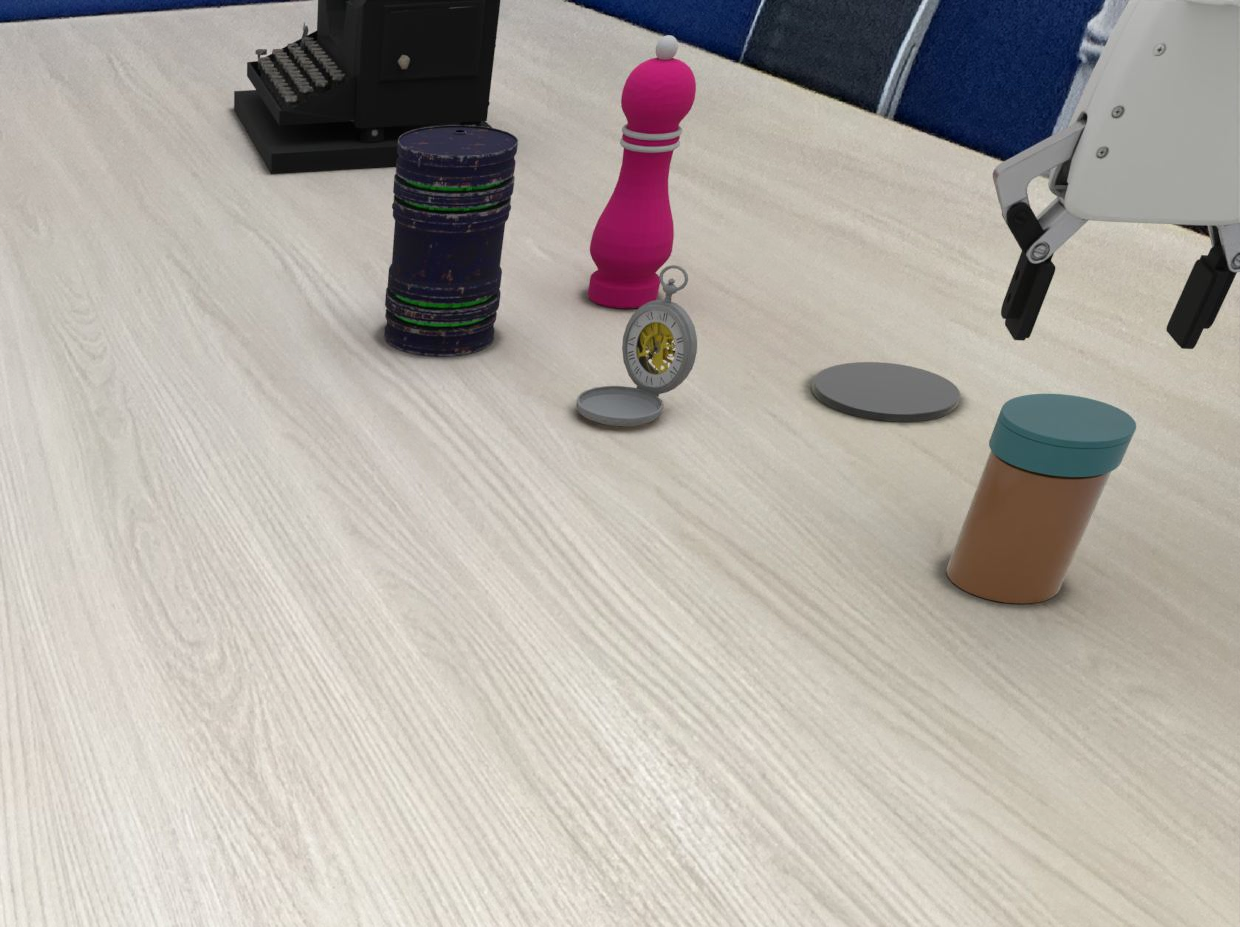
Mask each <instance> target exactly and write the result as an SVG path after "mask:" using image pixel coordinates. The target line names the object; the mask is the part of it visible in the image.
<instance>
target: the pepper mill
mask: <svg viewBox="0 0 1240 927" xmlns="http://www.w3.org/2000/svg"><path fill="white" fill-rule="evenodd" d="M678 49H679V43H678V39H677V38H676V37H675V36H674V35H669V34H667V35H664V36H662V37H661V38H659V40H658V41H657V42H656V46H655V56H656V57H653V58H649V59H647V60H645V61H643V62H641V63H639V64H637V66H635V68H633V69H632V71H631V72H630V73H629V75H628V76H627V78H626V80H625V81H624V82H625V83H624V86H623V88H622V92H621V98H620V103H621V104H620V107H621V110H622V113H623V115H624V116H625V118H626V121H627V123H626V124H624V125H623V126H622V128H621V133H622V135H621V138H620V140H619V145H620V146H621V148H623V152H622V161H621V167H620V171H619V175H618V179H617V182H616V184H615V187H614V189H613V192H612V193H611V195H610V198H609V200H608V201H607V203H606V205H605V207H604V209H603V210H602V212H601V214H600V216H599V218H598V220H597V222H596V224H595V227H594V229H593V232H592V234H591V235H592V236H591V240H590V244H589V254H590V257H591V259H592V261H593V263H594V265H595V267H596V268H597V270H595V271H593V273H591V274H590V278H589V283H588V290H587V297H588V299H589V300H590V301H591V302H593V304H594V303H595V304H597V305H599V306H603V307H606V308H611V309H612V308H615V309H624V310H625V309H639V308H640V307H641V306H643V305H644V304H646V303H648V302H651V301H656V300H658V295H659V291H660V285H661V283H660V279H659V276H660V275H659V274H657V272H658V271H659V270H660V269H661V268H662V267H663V266H664V265H665V264H666V263H667V262H668V260H669V259H670V257H671V256H672V252H673V247H674V240H675V239H674V238H675V232H674V231H675V229H674V218H673V214H672V208H671V207H672V206H671V203H670V194H669V177H670V176H669V175H670V167H671V162H672V159H673V154H674V151H675V150H677V149H678V148H679V147H680V145H681V141H680V138H681V136H682V134H683V128H682V127H681V126H680V124H681V122H682V121H683V120H684V119H685V118H686V117H687V115H688V114H689V113H690V111H691V110H692V108H693V105H694V102H695V99H696V93H697V82H696V77H695V74H694V72H693V69H692V68H691V67H690V66H689V65H688V64H687V63H686V62H684V61H682V60H680V59H677V58H674V57H675V56H676V54H677V52H678Z"/></svg>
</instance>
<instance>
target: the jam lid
mask: <svg viewBox="0 0 1240 927" xmlns="http://www.w3.org/2000/svg"><path fill="white" fill-rule="evenodd" d="M1136 430H1137V423H1136V421H1135V419H1134V418H1133V417H1132V416H1131V415H1130V414H1129V413H1127V412H1126V411H1124V410H1122V409H1121V408H1119V407H1117V406H1114V405H1112V404H1109V403H1106V402H1104V401H1100V400H1097V399H1093V398H1090V397H1089V398H1088V397H1083V396H1079V395H1072V394H1063V393H1032V394H1023V395H1019V396H1016V397H1013V398H1010V399H1009V400H1007V401H1005V402H1004V404H1003V405H1002V406H1001V409H1000V411H999V414H998V416H997V419H996V421H995V424H994V427H993V430H992V433H991V435H990V438H989V440H988V446H989V449H990V452H991V451H992V452H993V453H994V454H995V455H996V456H997V457H999V458H1000V459H1002V460H1004V461H1005V462H1007V463H1009V464H1012V465H1014V466H1017V467H1019V468H1022V469H1025V470H1028V471H1032V472H1037V473H1041V474H1047V475H1053V476H1063V477H1090V476H1097V475H1102V474H1106V473H1109V472H1111V471H1112V472H1113V471H1115V470H1116V469H1118V467H1120V465H1121V464H1122V461H1123V459H1124V457H1125V455H1126V452H1127V450H1128V448H1129V446H1130V443H1131V441H1132V440H1133V437H1134V435H1135V433H1136ZM1112 472H1111V473H1112Z"/></svg>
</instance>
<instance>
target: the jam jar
mask: <svg viewBox="0 0 1240 927" xmlns="http://www.w3.org/2000/svg"><path fill="white" fill-rule="evenodd" d="M1112 472H1113V471H1111V472H1109V473H1106V474H1102V475H1097V476H1090V477H1063V476H1053V475H1047V474H1041V473H1037V472H1032V471H1028V470H1025V469H1022V468H1019V467H1017V466H1014V465H1012V464H1009V463H1007V462H1005V461H1004V460H1002V459H1000V458H999V457H997V456H996V455H995V454H994V453H993V452H992V451H991V450H990V451H989V454H988V457H987V459H986V462H985V465H984V467H983V471H982V473H981V476H980V478H979V481H978V484H977V486H976V489H975V492H974V494H973V497H972V500H971V502H970V505H969V508H968V510H967V513H966V516H965V518H964V521H963V523H962V526H961V529H960V531H959V533H958V537H957V539H956V543H955V545H954V548H953V551H952V553H951V556H950V558H949V561H948V563H947V566H946V575H947V577H948V579H949V580H950V581H951V582H952V583H953V584H954V585H955V586H956V587H958V588H959V589H961V590H962V591H965V592H967V593H969V594H971V595H974V596H976V597H978V598H982V599H986V600H989V601H993V602H1000V603H1004V604H1018V605H1019V604H1022V605H1023V604H1034V603H1035V604H1036V603H1041V602H1044V601H1048V600H1050V599H1052V598H1053V597H1055V596H1056V595H1058V593H1059V592H1060V590H1061V588H1062V585H1063V583H1064V581H1065V578H1066V576H1067V574H1068V572H1069V569H1070V567H1071V565H1072V563H1073V561H1074V558H1075V556H1076V553H1077V551H1078V549H1079V547H1080V545H1081V542H1082V540H1083V537H1084V535H1085V534H1086V531H1087V528H1088V526H1089V524H1090V522H1091V520H1092V517H1093V515H1094V512H1095V510H1096V508H1097V506H1098V504H1099V502H1100V500H1101V497H1102V494H1103V493H1104V490H1105V488H1106V485H1107V484H1108V481H1109V478H1110V477H1111V474H1112Z"/></svg>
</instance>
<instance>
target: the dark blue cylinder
mask: <svg viewBox="0 0 1240 927" xmlns="http://www.w3.org/2000/svg"><path fill="white" fill-rule="evenodd" d="M518 145H519V139H518V137H517V136H516V135H514V134H513V133H510V132H509V131H506V130H502V129H498V128H494V127H492V128H489V127H482V126H470V125H443V126H432V127H425V128H420V129H416V130H412V131H409V132H406V133H404V134H402V135H401V136H400V137H399V138H398V147H397V153H398V154H399V157H398V158H397V161H396V166H395V174H394V177H393V188H392V189H393V190H392V192H393V194H394V195H393V203H392V204H391V209H392V218H393V220H394V228H393V244H392V257H391V264H390V265H389V267H388V273H387V274H388V275H387V287H386V289H385V298H384V306H385V316H384V317H385V320H386V324H385V326H384V329H383V338H384V341H385V342H386V343H387V345H389V346H391V347H392V348H395V349H397V350H400V351H402V352H405V353H409V354H414V355H420V356H428V357H454V356H462V355H463V356H464V355H469V354H473V353H476V352H480V351H482V350H484V349H486V348H488V347H489V346H490V345H492V343H493V342H494V339H495V334H496V332H495V327H494V326H495V323H496V321H497V316H498V313H497V311H498V310H499V308H500V302H501V294H502V293H501V289H500V288H501V283H502V276H503V269H502V267H501V261H502V253H503V245H504V236H505V230H506V229H505V228H506V223H507V221H508V220H509V217H510V212H511V210H512V204H511V203H512V196H513V193H514V187H515V180H516V178H515V175H514V174H515V170H516V159H515V156H516V155H517V154H518Z"/></svg>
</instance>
